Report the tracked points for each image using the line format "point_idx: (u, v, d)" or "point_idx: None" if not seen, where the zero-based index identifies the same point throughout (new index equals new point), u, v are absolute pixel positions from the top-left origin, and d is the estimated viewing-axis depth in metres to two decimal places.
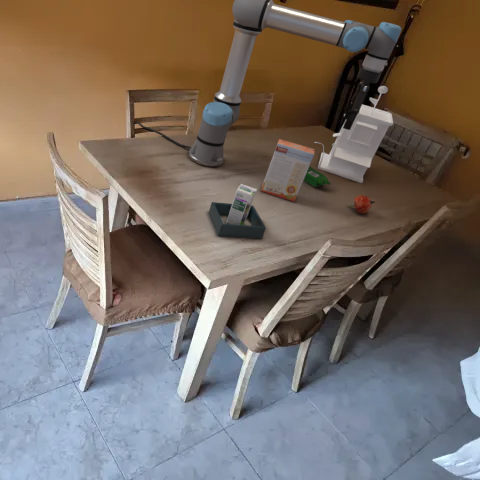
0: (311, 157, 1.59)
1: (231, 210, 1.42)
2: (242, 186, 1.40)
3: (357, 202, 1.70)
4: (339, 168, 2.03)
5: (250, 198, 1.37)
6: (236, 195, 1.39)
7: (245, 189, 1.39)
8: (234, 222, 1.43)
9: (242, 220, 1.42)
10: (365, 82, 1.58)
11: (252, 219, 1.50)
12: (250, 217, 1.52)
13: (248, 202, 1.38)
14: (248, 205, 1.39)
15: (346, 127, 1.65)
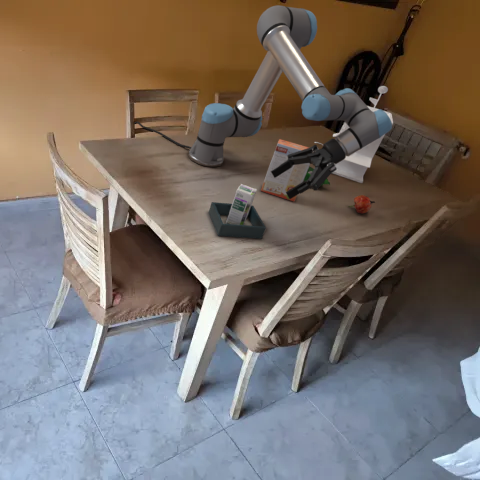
0: None
1: (231, 210, 1.42)
2: (242, 186, 1.40)
3: (357, 202, 1.70)
4: (339, 168, 2.03)
5: (250, 198, 1.37)
6: (236, 195, 1.39)
7: (245, 189, 1.39)
8: (234, 222, 1.43)
9: (242, 220, 1.42)
10: (332, 159, 1.32)
11: (252, 219, 1.50)
12: (250, 217, 1.52)
13: (248, 202, 1.38)
14: (248, 205, 1.39)
15: (289, 195, 1.34)
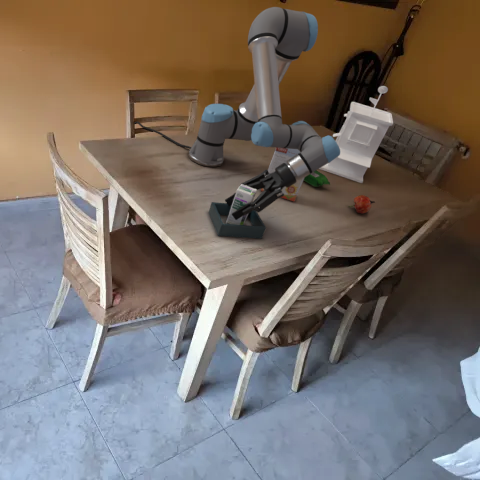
0: None
1: (231, 210, 1.42)
2: (242, 186, 1.40)
3: (357, 202, 1.70)
4: (339, 168, 2.03)
5: (250, 198, 1.37)
6: (236, 195, 1.39)
7: (245, 189, 1.39)
8: (234, 222, 1.43)
9: (242, 220, 1.42)
10: (283, 183, 1.35)
11: (252, 219, 1.50)
12: (250, 217, 1.52)
13: (248, 202, 1.38)
14: None
15: (235, 216, 1.39)
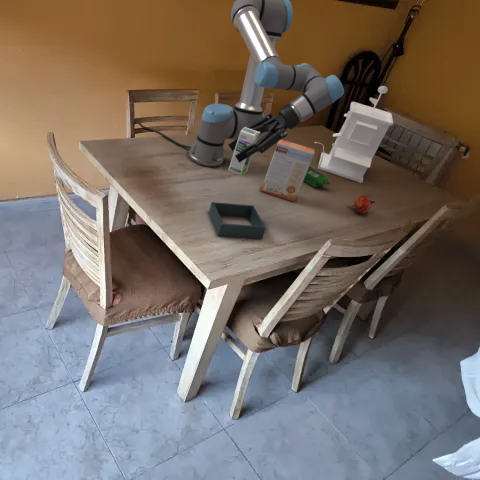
0: (311, 157, 1.59)
1: (234, 153, 1.42)
2: (246, 128, 1.40)
3: (357, 202, 1.70)
4: (339, 168, 2.03)
5: (254, 139, 1.37)
6: (240, 137, 1.39)
7: (248, 131, 1.39)
8: (237, 166, 1.44)
9: (245, 163, 1.42)
10: (287, 124, 1.35)
11: (252, 219, 1.50)
12: (250, 217, 1.52)
13: (251, 144, 1.38)
14: None
15: (238, 158, 1.40)
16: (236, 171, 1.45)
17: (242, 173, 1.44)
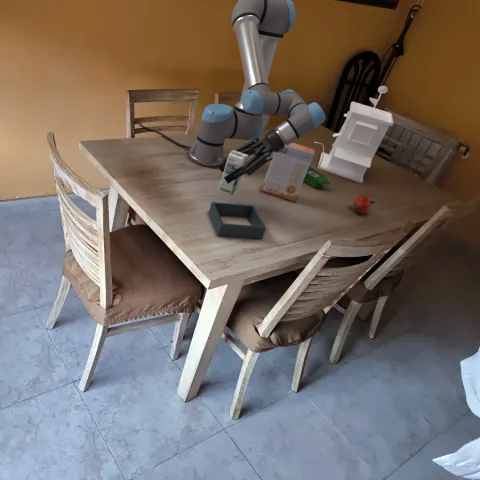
0: (311, 157, 1.59)
1: (224, 175, 1.51)
2: (234, 152, 1.49)
3: (357, 202, 1.70)
4: (339, 168, 2.03)
5: (241, 162, 1.46)
6: (228, 160, 1.48)
7: (236, 154, 1.48)
8: (227, 186, 1.52)
9: (234, 184, 1.51)
10: (272, 148, 1.44)
11: (252, 219, 1.50)
12: (250, 217, 1.52)
13: (239, 166, 1.47)
14: None
15: (227, 179, 1.48)
16: (225, 191, 1.53)
17: (231, 193, 1.53)
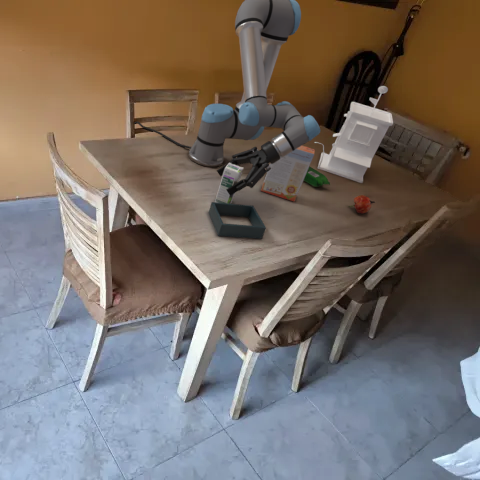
0: (311, 157, 1.59)
1: (220, 187, 1.54)
2: (230, 165, 1.52)
3: (357, 202, 1.70)
4: (339, 168, 2.03)
5: (237, 175, 1.49)
6: (224, 173, 1.50)
7: (232, 167, 1.50)
8: (223, 198, 1.55)
9: (230, 196, 1.54)
10: (268, 160, 1.47)
11: (252, 219, 1.50)
12: (250, 217, 1.52)
13: (235, 179, 1.50)
14: (235, 182, 1.50)
15: (229, 192, 1.48)
16: None
17: None
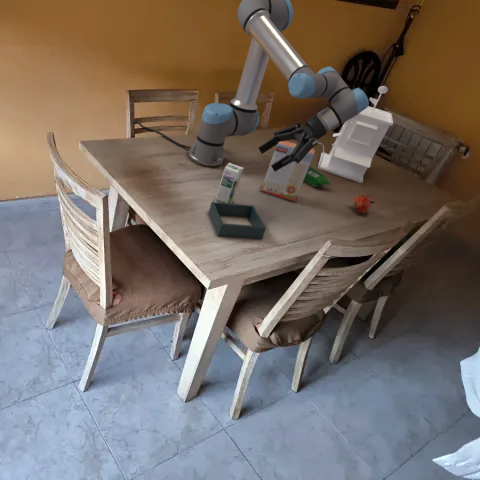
0: (311, 157, 1.59)
1: (220, 187, 1.54)
2: (230, 164, 1.52)
3: (357, 202, 1.70)
4: (339, 168, 2.03)
5: (237, 175, 1.49)
6: (224, 173, 1.50)
7: (232, 167, 1.50)
8: (223, 198, 1.55)
9: (230, 196, 1.54)
10: (314, 134, 1.43)
11: (252, 219, 1.50)
12: (250, 217, 1.52)
13: (235, 179, 1.50)
14: (235, 182, 1.50)
15: (274, 167, 1.45)
16: None
17: None
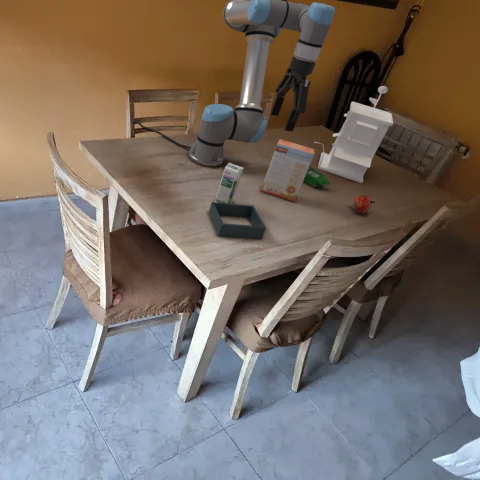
0: (311, 157, 1.59)
1: (220, 187, 1.54)
2: (230, 164, 1.52)
3: (357, 202, 1.70)
4: (339, 168, 2.03)
5: (237, 175, 1.49)
6: (224, 173, 1.50)
7: (232, 167, 1.50)
8: (223, 198, 1.55)
9: (230, 196, 1.54)
10: (303, 75, 1.35)
11: (252, 219, 1.50)
12: (250, 217, 1.52)
13: (235, 179, 1.50)
14: (235, 182, 1.50)
15: (289, 129, 1.42)
16: None
17: None
